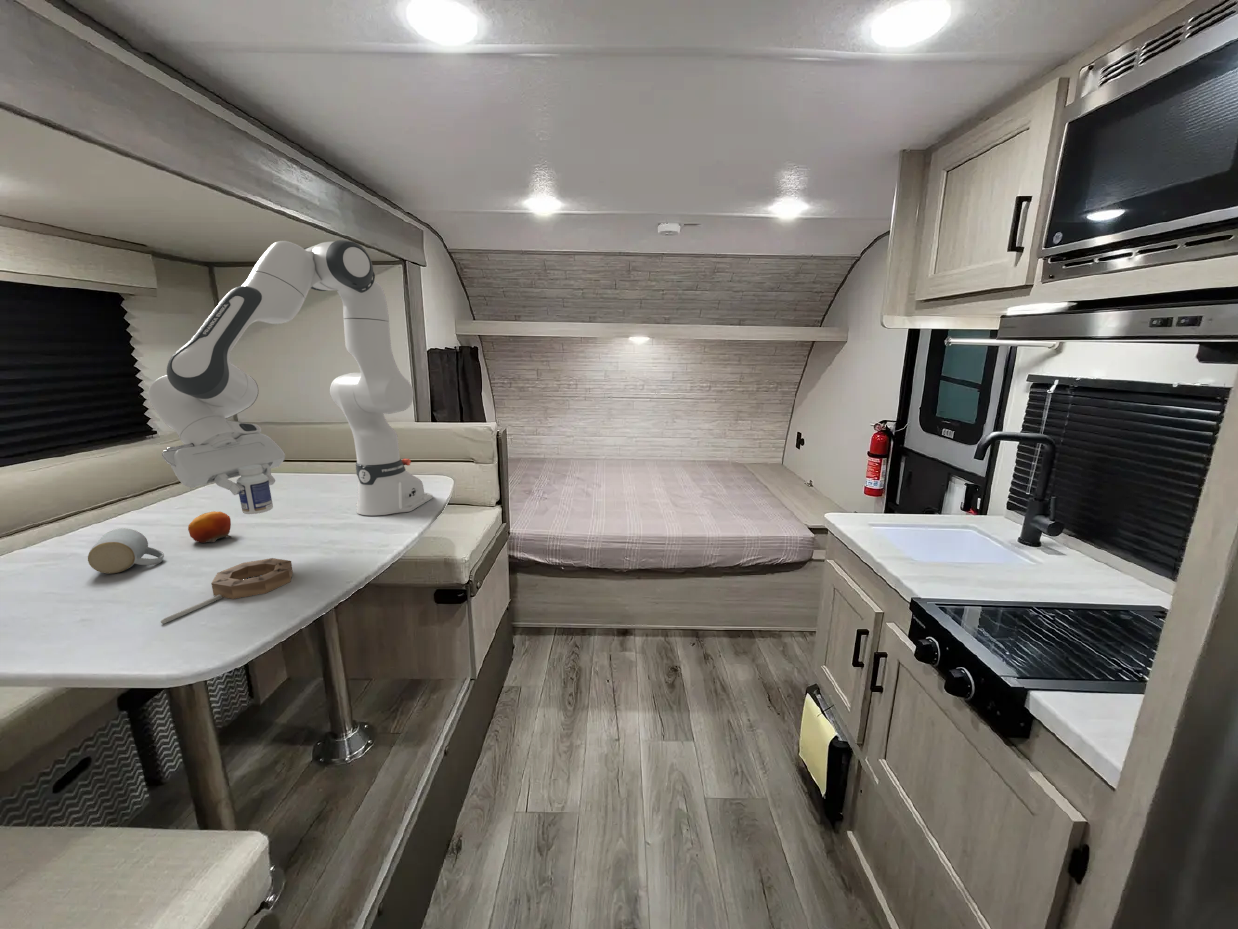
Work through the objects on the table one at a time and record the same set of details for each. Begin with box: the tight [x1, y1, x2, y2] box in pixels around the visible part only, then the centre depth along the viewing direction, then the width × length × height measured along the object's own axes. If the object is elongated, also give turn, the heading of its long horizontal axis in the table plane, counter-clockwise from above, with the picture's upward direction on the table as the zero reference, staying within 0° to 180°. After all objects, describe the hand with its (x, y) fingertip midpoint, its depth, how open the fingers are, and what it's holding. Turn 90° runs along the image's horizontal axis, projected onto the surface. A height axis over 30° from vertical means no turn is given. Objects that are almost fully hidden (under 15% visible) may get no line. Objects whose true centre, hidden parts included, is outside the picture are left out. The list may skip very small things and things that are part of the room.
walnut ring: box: [211, 557, 294, 600], centre depth 96 cm, size 12×12×2 cm
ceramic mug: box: [87, 527, 165, 575], centre depth 103 cm, size 11×8×8 cm
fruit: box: [187, 510, 232, 544], centre depth 119 cm, size 8×8×8 cm
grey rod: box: [160, 595, 223, 625], centre depth 86 cm, size 9×1×1 cm, turn 164°
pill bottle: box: [236, 465, 274, 515], centre depth 104 cm, size 5×5×10 cm
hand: (256, 487), depth 104 cm, fingers closed on pill bottle, 5 cm apart
